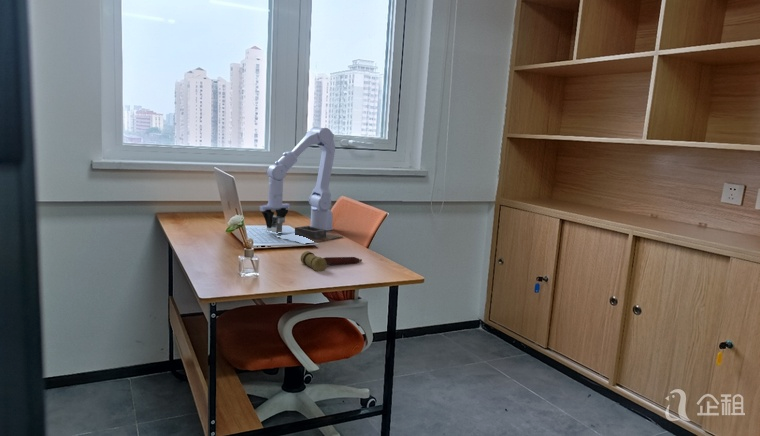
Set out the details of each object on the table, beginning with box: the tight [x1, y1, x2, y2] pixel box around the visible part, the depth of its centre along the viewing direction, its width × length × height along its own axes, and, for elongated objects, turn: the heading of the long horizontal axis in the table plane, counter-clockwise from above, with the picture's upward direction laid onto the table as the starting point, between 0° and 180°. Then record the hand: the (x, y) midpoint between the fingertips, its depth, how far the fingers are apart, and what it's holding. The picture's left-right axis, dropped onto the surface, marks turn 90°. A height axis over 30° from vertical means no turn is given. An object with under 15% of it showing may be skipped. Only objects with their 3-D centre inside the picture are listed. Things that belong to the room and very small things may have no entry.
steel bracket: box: [266, 214, 286, 233], centre depth 224 cm, size 3×8×7 cm, turn 52°
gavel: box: [300, 250, 363, 272], centre depth 181 cm, size 21×5×10 cm
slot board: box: [294, 225, 344, 243], centre depth 220 cm, size 22×16×4 cm
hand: (274, 227), depth 224 cm, fingers open, 5 cm apart
